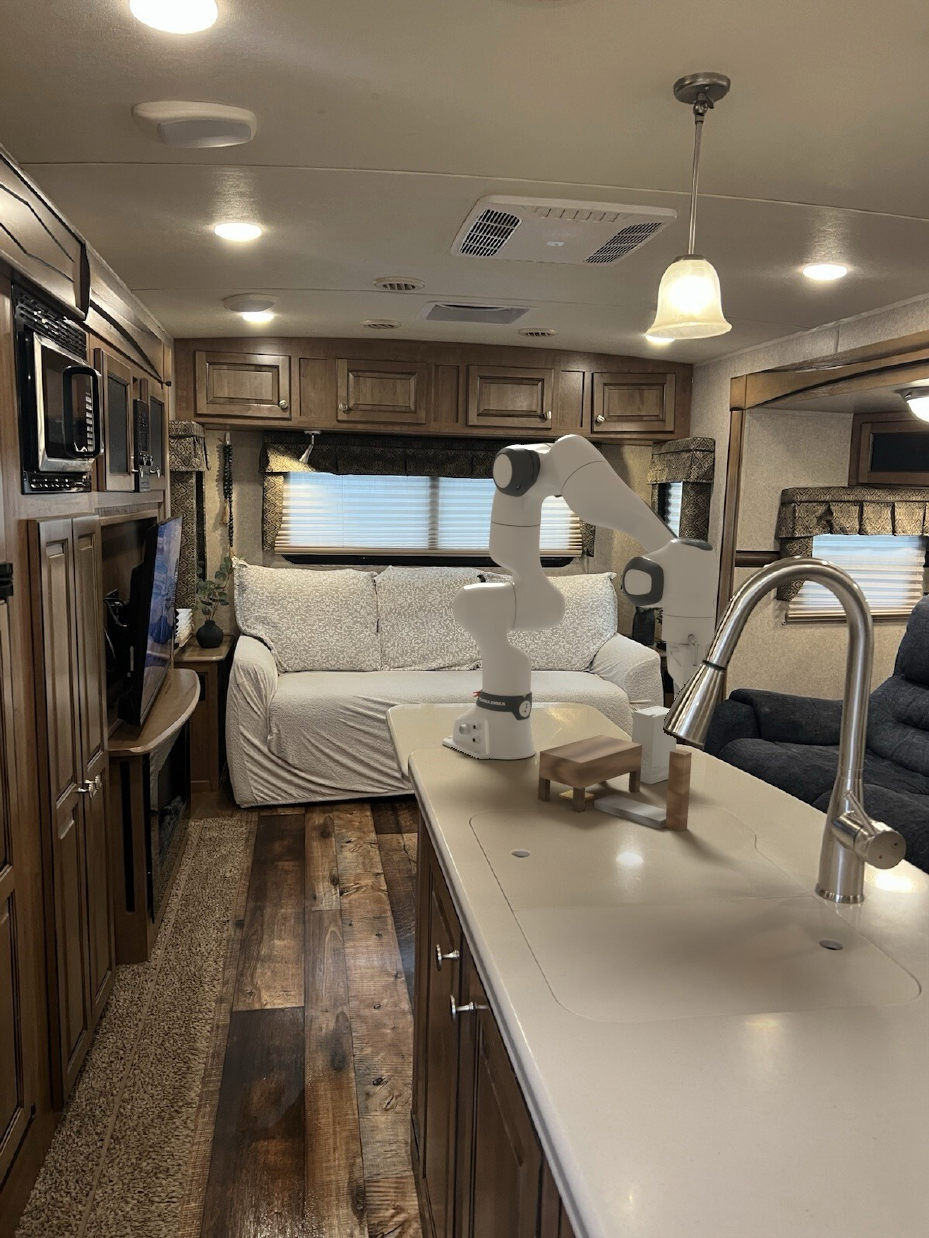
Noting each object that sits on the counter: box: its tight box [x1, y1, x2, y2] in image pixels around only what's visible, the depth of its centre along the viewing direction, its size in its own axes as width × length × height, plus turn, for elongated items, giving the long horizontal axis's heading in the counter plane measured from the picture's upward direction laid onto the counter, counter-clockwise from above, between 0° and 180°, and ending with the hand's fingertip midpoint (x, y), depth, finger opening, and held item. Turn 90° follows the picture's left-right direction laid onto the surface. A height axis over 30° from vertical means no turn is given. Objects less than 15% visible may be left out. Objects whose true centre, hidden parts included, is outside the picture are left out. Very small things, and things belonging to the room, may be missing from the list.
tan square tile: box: [558, 789, 595, 802], centre depth 180 cm, size 5×5×1 cm
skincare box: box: [631, 705, 677, 785], centre depth 193 cm, size 8×6×15 cm
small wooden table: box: [537, 734, 642, 813], centre depth 181 cm, size 10×20×10 cm, turn 135°
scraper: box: [593, 748, 693, 832], centre depth 169 cm, size 18×6×14 cm, turn 45°
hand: (683, 709), depth 162 cm, fingers open, 8 cm apart
